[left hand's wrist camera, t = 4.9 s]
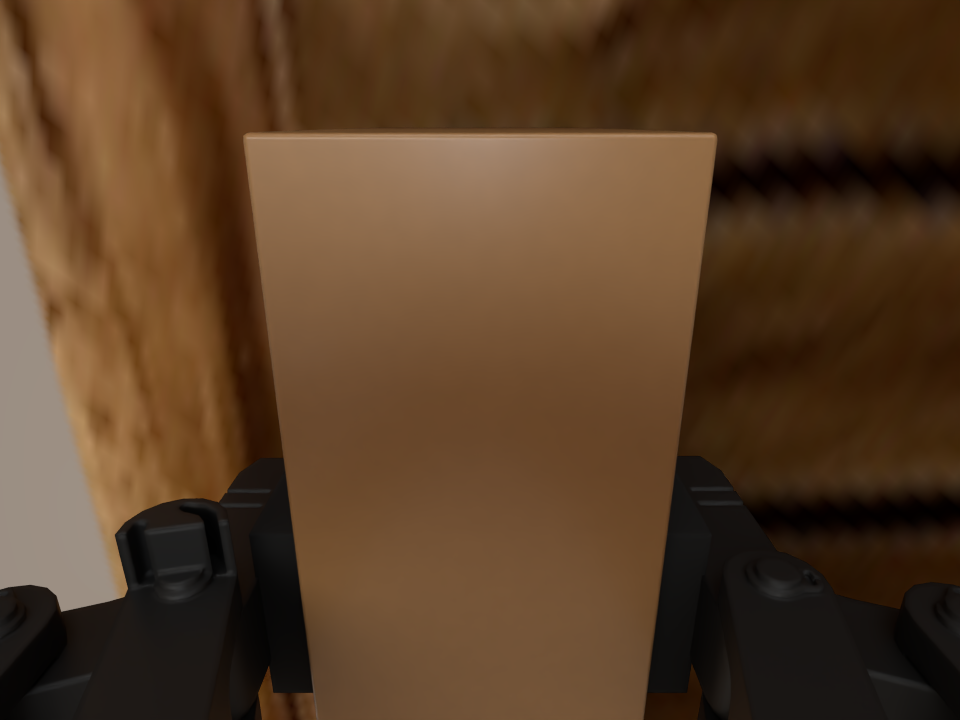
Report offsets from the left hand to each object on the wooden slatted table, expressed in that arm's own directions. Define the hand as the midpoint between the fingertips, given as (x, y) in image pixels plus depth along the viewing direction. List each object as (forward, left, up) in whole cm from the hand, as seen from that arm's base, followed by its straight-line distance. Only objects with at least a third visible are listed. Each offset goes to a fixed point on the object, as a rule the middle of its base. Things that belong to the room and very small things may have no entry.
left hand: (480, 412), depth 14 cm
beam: (+2, +23, -1) cm, 23 cm away
